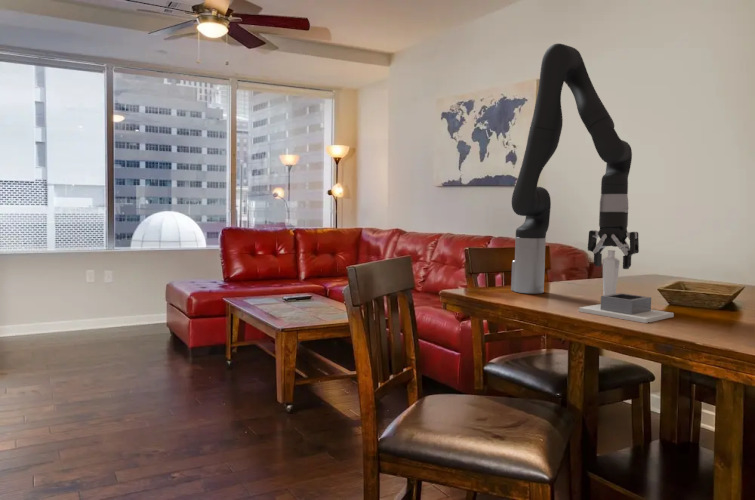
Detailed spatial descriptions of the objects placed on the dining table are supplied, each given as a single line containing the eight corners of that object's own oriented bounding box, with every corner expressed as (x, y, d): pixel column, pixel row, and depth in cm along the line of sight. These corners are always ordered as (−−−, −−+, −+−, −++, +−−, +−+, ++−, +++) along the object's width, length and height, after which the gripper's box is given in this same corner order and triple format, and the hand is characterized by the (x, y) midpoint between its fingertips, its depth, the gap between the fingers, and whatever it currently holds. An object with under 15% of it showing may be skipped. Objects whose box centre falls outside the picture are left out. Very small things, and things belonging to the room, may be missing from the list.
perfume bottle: (619, 304, 168) (621, 251, 166) (602, 303, 168) (605, 250, 167) (616, 301, 172) (618, 250, 171) (600, 301, 173) (602, 249, 172)
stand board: (578, 311, 155) (578, 307, 155) (607, 306, 164) (607, 302, 164) (645, 323, 141) (645, 319, 141) (673, 316, 150) (673, 312, 150)
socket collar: (600, 309, 153) (601, 296, 153) (619, 306, 159) (620, 293, 159) (631, 314, 147) (632, 300, 146) (650, 310, 152) (651, 297, 152)
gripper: (583, 210, 171) (582, 266, 172) (630, 210, 160) (628, 270, 161) (598, 210, 176) (596, 265, 177) (644, 210, 165) (642, 269, 166)
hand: (611, 267), depth 169 cm, fingers open, 8 cm apart
